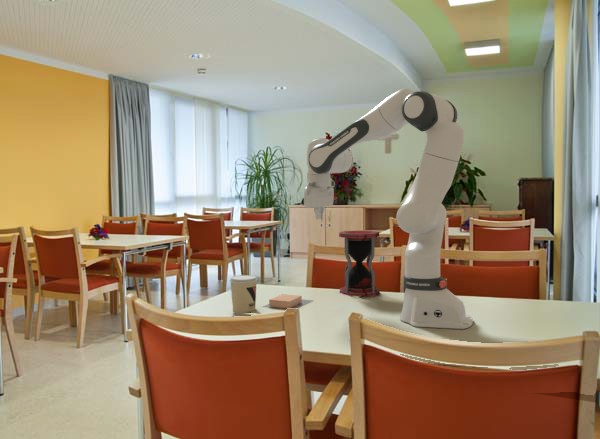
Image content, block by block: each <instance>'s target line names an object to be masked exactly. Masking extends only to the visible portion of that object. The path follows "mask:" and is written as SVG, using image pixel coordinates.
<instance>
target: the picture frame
mask: <svg viewBox="0 0 600 439" xmlns="http://www.w3.org/2000/svg"><path fill="white" fill-rule="evenodd" d="M302 298H303V297H302V295H297V294H296V295H295V294H284V293H283V294H279V295H276V296H274V297H272V298H270V299H269V302H268V304H269V307H279V308H292V307H294V306H296V305H298V304H300V303H302Z"/></svg>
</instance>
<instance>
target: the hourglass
mask: <svg viewBox="0 0 600 439" xmlns="http://www.w3.org/2000/svg"><path fill="white" fill-rule="evenodd" d="M338 237H339V238H344V254H345V255H344V256H345V258H346V260H347V264H346V265H345V269H344V286H343V287H341V288H339V294H342V295H345V296H354V297H359V298H372V297H376V296H378V295H380V294H381V293H380V288H378V287H375V285H376V284H375V283H376V282H375V271H374V269H373V265H372V263H373V262H372V261H373V260H374V257H375V238H379V237H380V232H379V231H376V230H344V231H339V232H338ZM351 258H352V259H351ZM352 260H353V261H354V262H355V265H353V263H352ZM365 260H366V266H367V267H368V268H367V267H366V266H365V265H364V264H363V262H364V261H365ZM352 265H353V266H352Z"/></svg>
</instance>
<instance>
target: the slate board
mask: <svg viewBox="0 0 600 439" xmlns="http://www.w3.org/2000/svg"><path fill="white" fill-rule="evenodd" d="M312 302H314V299H313V300H312V299H302V303H300V304H298V305H296V306H294V307H292V308H298V309H300V308H302V307H305V306H306V305H309V304H310V303H312ZM262 308H268V309H270V308H271V309H279V310H280V309H281V310H288V309H287V308H279V307H269V303H268V304H265V305H263V306H262Z"/></svg>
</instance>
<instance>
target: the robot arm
mask: <svg viewBox="0 0 600 439" xmlns="http://www.w3.org/2000/svg"><path fill="white" fill-rule="evenodd" d="M456 108H457V107H455V105H454V104H453V103H452V102H450V101H449V100H447V99H445V98H443V97H441V96H440V95H438V94H434V93H430V92H427V91H424V90H422V91H420V90H418V91H413V90H412V89H410V88H407V87H405V88H404V87H403V88H401V89H399V90H396V91H395V92H393V93H392V94H390V95H389V96H387V97H386V98H384V99H383V100H382V101H381V102H379V103H378V104H377V105H375V107H374V108H372V109H371V110H370V111H369V112H367V113H366V114H365V115H363V116H361V117H360V118H358V119H357V120H355V121H354V122H353V123H351V124H349V125H347V127H345V128H344V129H343V130H341V131H340V132H338V133H336V135H334V136H333V137H332V138H330V139H327V138H316V139H313V140H311V141H310V142H309V143H308V144H307V150H306V165H307V172H306V182H307V183H306V187H305V189H304V193H303V205H304V208H305V209H313V212H314V214H315V220H323V219H324V212H325V207H332V206H333V205H334V203H335V202H334V201H335V199H334V198H335V197H334V196H335V189H334V188H335V184H336V182H335V181H334V180H333V179H332V177H331V174H342V173H346V172H348V171H349V170H350V169H351V167H352V165H353V163H354V162H353V161H354V158H353V154H352V152H351V150H350V148H352V147H354V146H355V145H358V144H361V143H363V142H370V141H381V140H385V139H388V138H390V137H391V136H393V135H394V134H396V133H397V132H398V131H400V130H401V129H402V128H403V127H404V126H406V125H407V124H410V125H411V126H412V127H414V128H415V129H417V130H418V131H420V132H425V134H426V138H427V139H426V144H425V147H424V150H423V153H422V157H421V160H420V163H419V166H418V169H417V173H416V176H415V177H414V180H413V182H412V184H411V186H410V188H409V190H408V192H407V194H406V196H405V197H404V200H403V203H402V204H401V206H399V208H398V209H397V212H396V224H397V226H398V227H399V228H400V229H401V230H402V231H403V232H405V233H408V234H409V237H408V241H407V245H406V248H405V251H404V275H403V280H402V281H403V282H402V283H403V284H402V289H403V302H402V303H403V305H402V309H401V314H400V316H399V319H400V321H402V322H405V323H407V324H410V325H411V326H413V327H417V328H418V327H419V328H436V329H437V328H440V329H453V330H454V329H455V330H456V329H457V330H464V329H467V328H470V327H472V325H473V324H474V320H473V317H472V316H470V315H467V312H466V307H465V304H464V302H463V301H462V299H461V298H459V297H458V296H456V295H455V294H454V293H452V292H451V291H450V289H448V288H447V287H448V279H447V278H445V277H443V276H442V275H441V251H442V250H441V249H442V243H443V238H444V230H445V222H446V219H447V209H446V207H445V205H444V204H443V203H442V202H443V201H444V198H445V197H446V195H447V193H448V191H449V190H450V188H451V187H452V185H453V180H454V178H455V175H456V171H457V169H458V165H459V161H460V159H461V154H462V151H463V146H464V139H465V131H464V128H463V127H462V126H461V125H460V124H458V123H457V120H458V110H457V109H456Z"/></svg>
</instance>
